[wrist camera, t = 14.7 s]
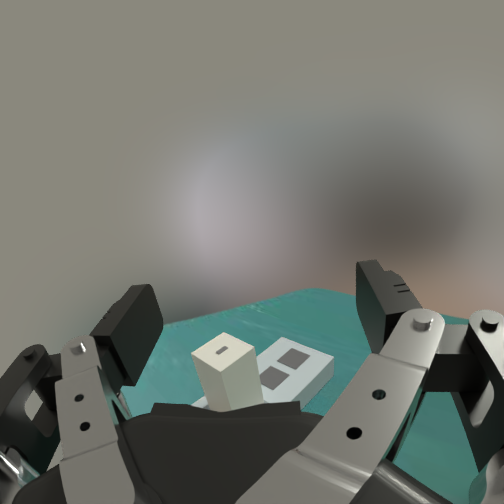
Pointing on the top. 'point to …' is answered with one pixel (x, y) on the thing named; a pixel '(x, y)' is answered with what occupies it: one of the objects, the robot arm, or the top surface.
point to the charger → (228, 373)
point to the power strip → (290, 373)
